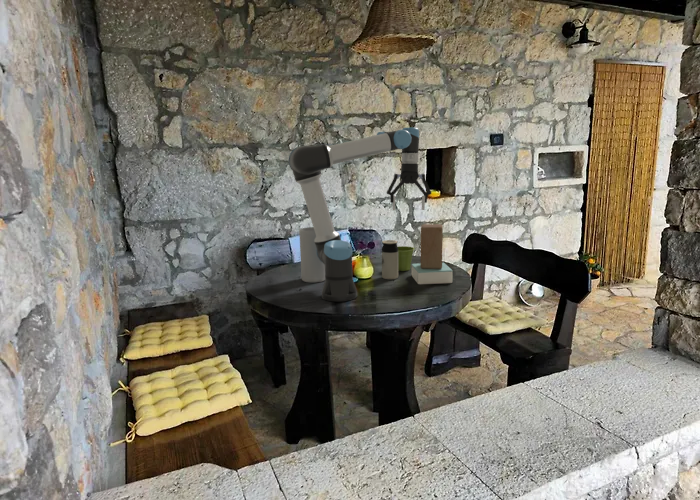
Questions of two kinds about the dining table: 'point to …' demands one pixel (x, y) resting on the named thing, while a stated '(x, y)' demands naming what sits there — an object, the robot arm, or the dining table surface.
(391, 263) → the travel mug
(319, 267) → the cylinder vase
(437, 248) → the wooden block
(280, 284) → the dining table surface
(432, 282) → the base brick
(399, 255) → the plant pot
